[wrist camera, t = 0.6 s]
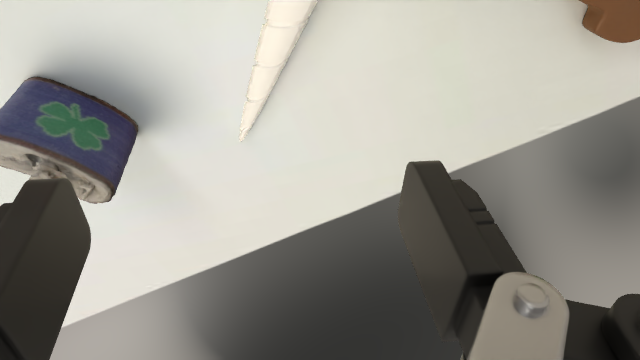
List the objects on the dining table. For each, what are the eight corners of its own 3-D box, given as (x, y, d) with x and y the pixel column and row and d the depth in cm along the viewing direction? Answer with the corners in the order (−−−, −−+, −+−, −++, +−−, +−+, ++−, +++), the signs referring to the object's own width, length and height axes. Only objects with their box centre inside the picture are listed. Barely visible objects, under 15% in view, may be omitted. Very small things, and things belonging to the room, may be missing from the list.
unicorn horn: (200, 125, 39) (195, 156, 36) (313, -183, 27) (323, -186, 24) (250, 141, 41) (250, 172, 37) (377, -142, 29) (396, -138, 25)
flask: (19, 93, 36) (-50, 173, 27) (31, 65, 34) (-38, 139, 26) (131, 144, 40) (101, 226, 32) (145, 120, 39) (118, 200, 30)
